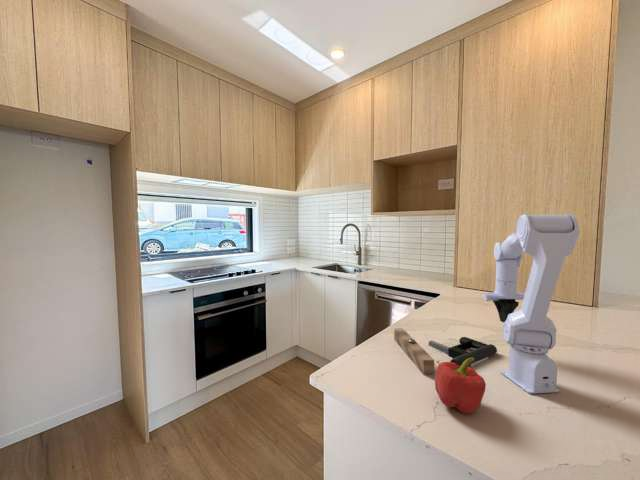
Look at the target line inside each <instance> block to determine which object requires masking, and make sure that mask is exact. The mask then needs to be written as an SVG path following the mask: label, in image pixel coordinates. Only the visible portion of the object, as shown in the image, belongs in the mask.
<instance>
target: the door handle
mask: <svg viewBox="0 0 640 480" xmlns="http://www.w3.org/2000/svg"><path fill="white" fill-rule="evenodd" d="M458 341H459V344H457V345H453V346H451V347H450V346H447V345H445V344H442V343H440V342H438V341H434V340H429V341H428V346H429V347H431V348H433V349H435V350H437V351H440V352H441V353H444V354H446V355H447V356H448V357H450V358H452V359H451V360H450V361H449V362H454V363H455V364H457V365H458V366H462V364H463V362H464V361H465V360H466V359H468V358H474V359H475V360H474V361H475V363H472V362H471V363H470V364H469V365H468V366H470V367H473V366H474V365H476V364H478V363H481V362H484V361H487V360H488V359H489V357H491V356H494V355H497V352H498V349H497V347H496V346H495V345H494V344H490V343H489V344H488V343H484V342H482V341H478V340H475V339H472V338H469V337H466V336H461V337H460V338H459V340H458ZM469 349H470V351H467V350H469Z"/></svg>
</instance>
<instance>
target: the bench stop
mask: <svg viewBox="0 0 640 480" xmlns="http://www.w3.org/2000/svg"><path fill="white" fill-rule="evenodd" d="M393 329H394V330H393V340H394V342H396V343H397V345H398V346H399V347H400V348H401V350H402V351H403V352H404V353H405V354H406V356H407V357H408V358H409V359H410V360H411V362H412V363H413V364H414V366H416V368H417V369H418V370H419V372H420V373H422V375H434V374H435V359H434V358H433V357H432V356H431V355H430V354H429V352H427V351H426V350H425V349H424V348H423V347H422V346H421V345H420V344H419V343H418V342H417V341H416V340H415V339H414V338H413V337H412V336H411V335H410V334H409V333H408V331H406V330H405V329H404V328H403V327H397V328H396V327H395V328H393Z"/></svg>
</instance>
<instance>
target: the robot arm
mask: <svg viewBox="0 0 640 480" xmlns="http://www.w3.org/2000/svg"><path fill="white" fill-rule="evenodd" d="M515 226H516V228H515V229H516V230H515V231H516V232H512V233H511V234H509V236H507V238H506V239H505V240H504V241H502V242H496V243H495V244H494V246H493V247H494V249H493V257H494V259H495V261H496V262H495V281H494V282H495V286H494V287H495V288H494V291H493V292H488V293H482V296H481V297H482V298H481V300H483V301H485V302H490V301H492V302H493V304H494V306H495V308H496V310H497V313H498V318H499V321H500V322H502V323H503V325H502V335H503V339H504V341H505V342H506V344H508V345H509V359H508V361H509V363H508V364H509V365H508V369H506V370H505V369H504V370H500V373H501V374H502V375H503V376H505V377H507V378H508V379H509V380H510V381H512V382H513V383H514V384H515V385H517V386H518V387H519V388H521V389H523V390H524V391H525V392H526V393H528V394H530V395H533V394H548V393H559V392H560V389H558V388H557V383H558V382H557V379H558V378H557V377H558V365H557V363H556V362H555V361H554V360H553V359H552V358H551V357H549V356H548V354H549V350H552V349H554V348H555V346H556V343H557V337H556V336H557V335H556V334H557V327H556V325H555V323H554V321H552V319H551V318H550V317H549V316H547V314H548V311H549V308H550V306H551V303H552V302H551V301H552V299H553V296H554V292H555V289H556V287H557V283H558V281H559V278H560V273H561V271H562V269H563V268H562V267H563V265H564V261H565V259H566V257H568V256H569V255H571V254H573V252H574V248H575V247H576V244H577V241H578V238H579V234H580V226H579V222H578V219H577V218H576V217H575V215H574V214H571V213H564V214H526V213H524V214H521V216H519V217H518V219H517V221H516V225H515ZM524 253H525V254H527V255H529V256H530V257H532V259H533V261H532V264H531V269H530V272H529V277H528V281H527V285H526V286H525V287H526V288H525V291H524V292H518V277H519V275H518V274H519V268H520V266H521V262H522V261H521V260H522V258H523V254H524ZM516 300H517V301H516ZM519 300H522V303H521V307H520V309H519V310H516V309H517V307H518V306H519V304H520V302H519ZM515 310H516V311H515Z"/></svg>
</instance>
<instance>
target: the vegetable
mask: <svg viewBox="0 0 640 480" xmlns="http://www.w3.org/2000/svg"><path fill="white" fill-rule="evenodd" d="M474 360H475V359H474V358H468V359H466V360H465V361H464V362H463V364H462V366H458V365H457V364H455V363H454V362H450V361H442V362H440V363H439V364H438V365H437V367H436V371H435V377H434V387H435V391H436V393H437V395H438V397H439V399H440V402H441V403H442V404H444V405H445V406H446V407H448V408H456V409H457V410H458V411H460V412H461V413H463V414H471V413H474V412H476V410H478V409H479V408H480V406H481V404H482V401H483V398H484V394H485V391H486V384H487V383H486V382H485V379H484V378H483V376H481V375H480V374H479V373H478V372H477V371H476V370H475V369H473V368H471V367H469V366H470V365H469V364H470V363H471V362H472V363H475V361H474Z"/></svg>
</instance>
